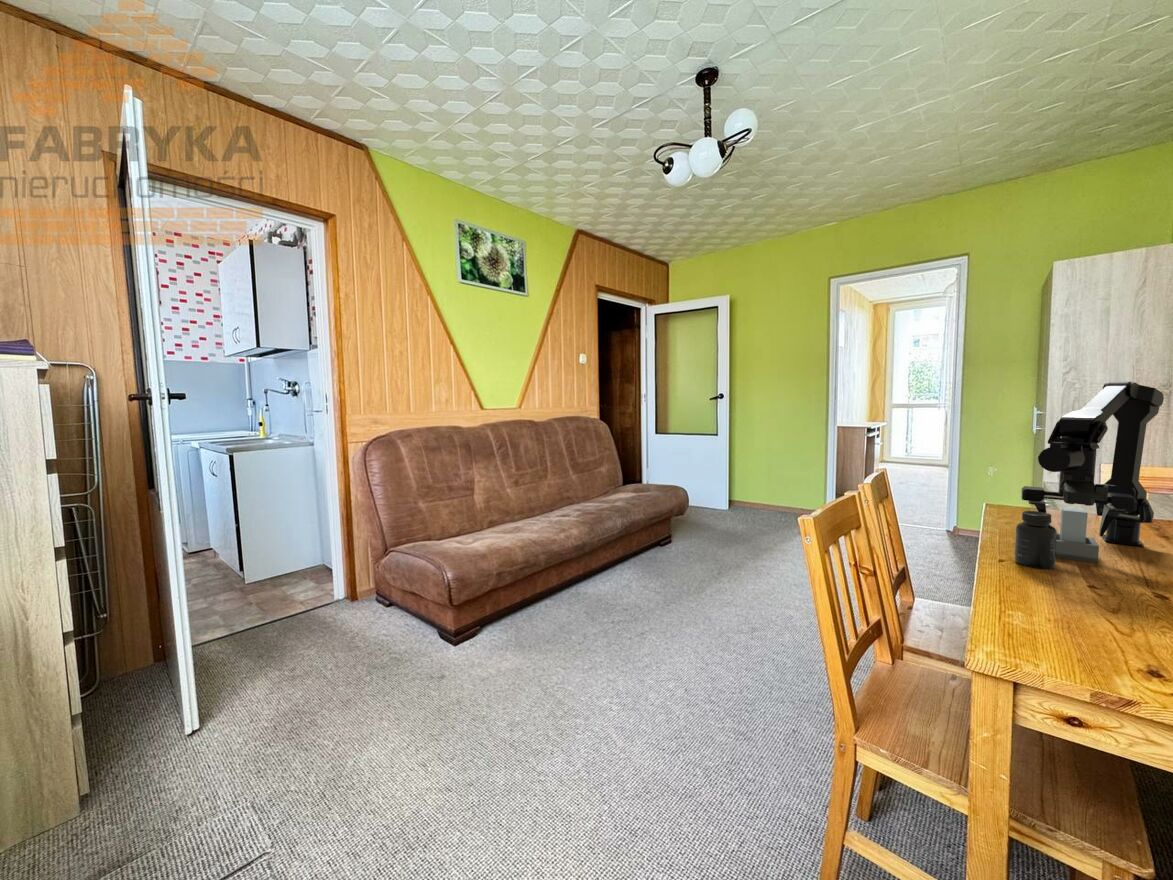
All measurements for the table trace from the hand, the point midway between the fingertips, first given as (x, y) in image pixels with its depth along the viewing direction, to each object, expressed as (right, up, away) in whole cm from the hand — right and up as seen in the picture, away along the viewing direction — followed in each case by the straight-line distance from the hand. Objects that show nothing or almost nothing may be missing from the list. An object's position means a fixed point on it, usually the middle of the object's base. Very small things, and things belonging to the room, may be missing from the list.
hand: (1072, 532), depth 113 cm
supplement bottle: (-14, -7, -5) cm, 16 cm away
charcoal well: (0, -6, +1) cm, 6 cm away
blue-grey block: (0, -5, 0) cm, 4 cm away
